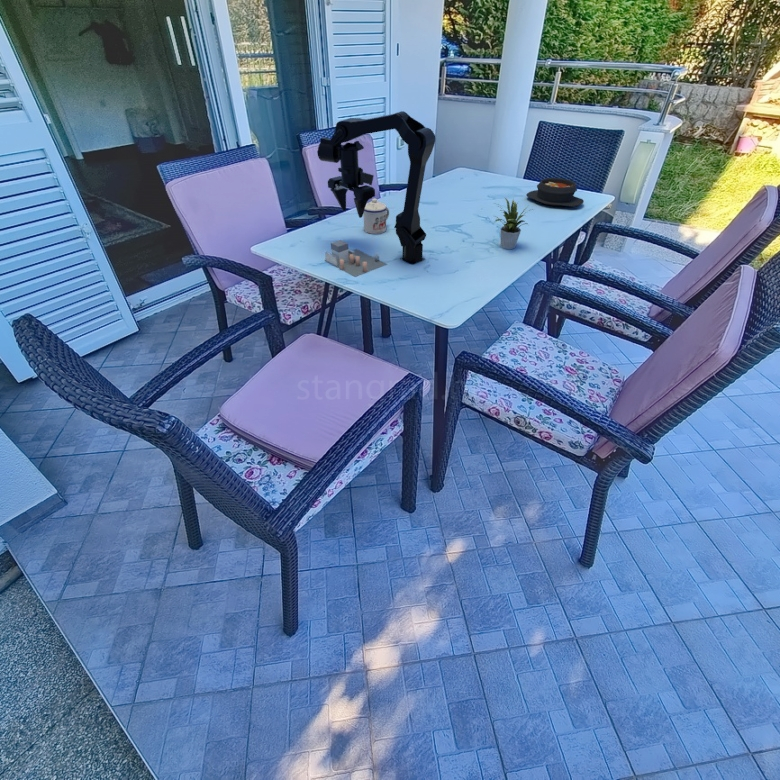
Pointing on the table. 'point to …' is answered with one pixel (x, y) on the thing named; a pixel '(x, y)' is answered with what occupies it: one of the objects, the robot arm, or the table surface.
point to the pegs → (357, 261)
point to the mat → (361, 264)
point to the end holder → (333, 258)
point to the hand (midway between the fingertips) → (352, 213)
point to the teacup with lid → (375, 217)
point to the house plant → (510, 226)
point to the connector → (340, 250)
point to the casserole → (556, 192)
